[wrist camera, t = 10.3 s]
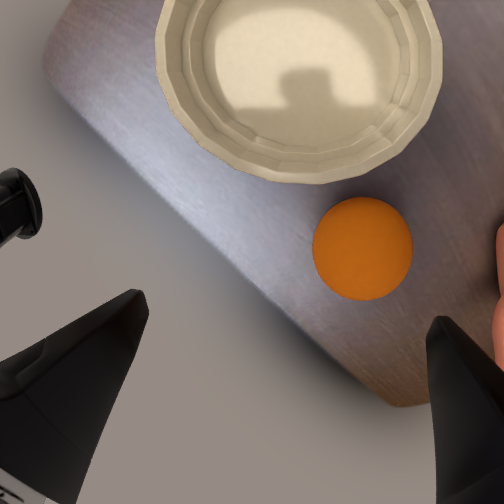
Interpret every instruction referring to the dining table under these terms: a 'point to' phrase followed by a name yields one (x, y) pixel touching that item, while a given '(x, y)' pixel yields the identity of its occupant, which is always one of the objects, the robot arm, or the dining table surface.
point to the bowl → (300, 81)
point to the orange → (362, 248)
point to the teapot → (499, 302)
